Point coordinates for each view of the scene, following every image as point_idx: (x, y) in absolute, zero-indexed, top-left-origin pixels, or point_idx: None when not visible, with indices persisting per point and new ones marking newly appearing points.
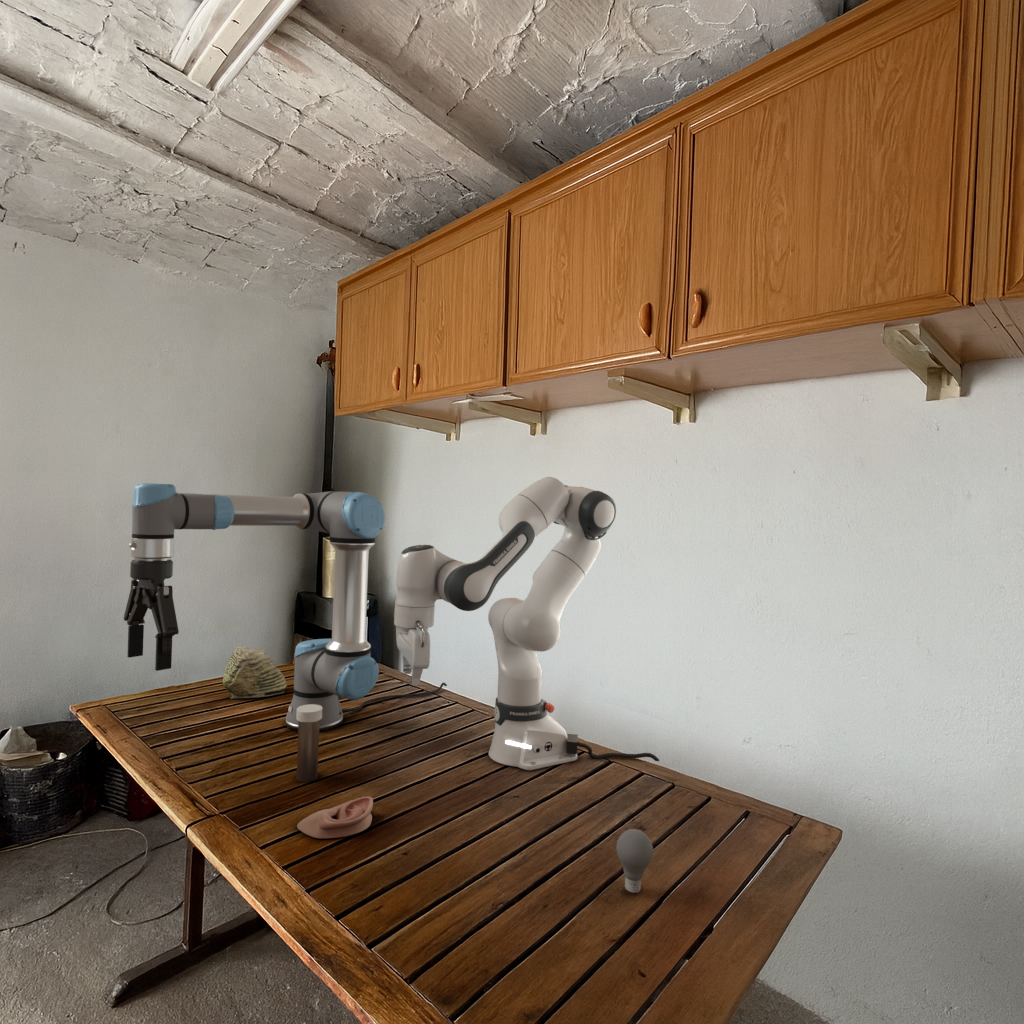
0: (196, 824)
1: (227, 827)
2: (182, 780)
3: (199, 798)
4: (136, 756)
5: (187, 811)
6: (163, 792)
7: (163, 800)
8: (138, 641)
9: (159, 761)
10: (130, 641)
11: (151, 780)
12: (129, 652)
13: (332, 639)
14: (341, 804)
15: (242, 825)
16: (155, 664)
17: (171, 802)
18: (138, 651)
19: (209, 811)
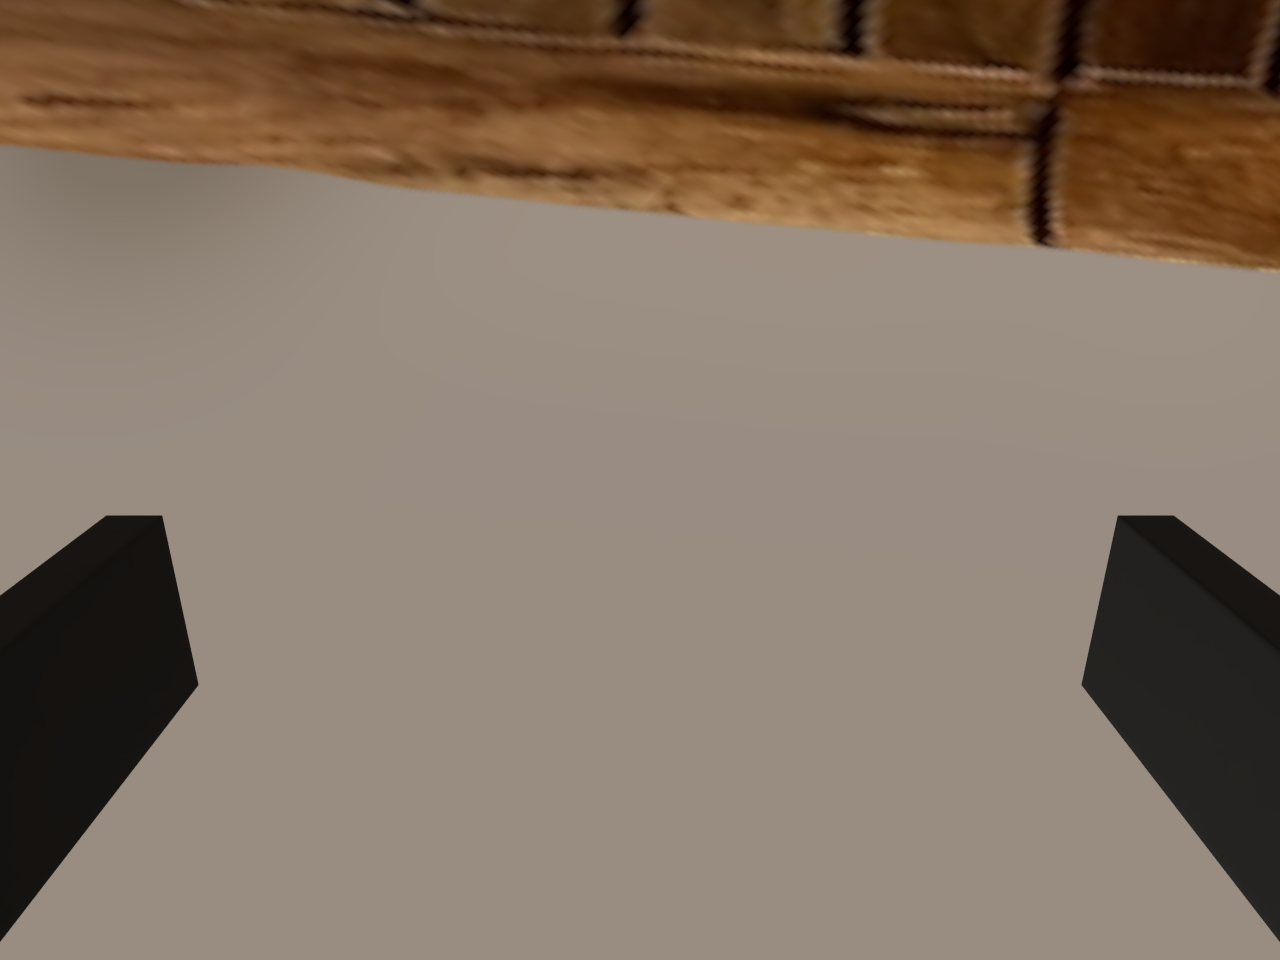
0: (1061, 214)
1: (1205, 126)
2: (565, 43)
3: (835, 79)
4: (61, 91)
5: (916, 186)
6: (638, 181)
7: (723, 218)
8: (38, 717)
9: (215, 21)
10: (58, 846)
11: (455, 165)
12: (157, 724)
13: None
14: None
15: (1252, 64)
16: (1124, 734)
17: (772, 200)
18: (138, 610)
19: (1000, 110)
